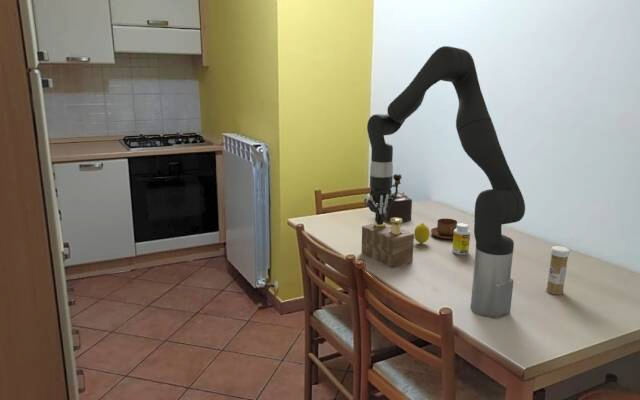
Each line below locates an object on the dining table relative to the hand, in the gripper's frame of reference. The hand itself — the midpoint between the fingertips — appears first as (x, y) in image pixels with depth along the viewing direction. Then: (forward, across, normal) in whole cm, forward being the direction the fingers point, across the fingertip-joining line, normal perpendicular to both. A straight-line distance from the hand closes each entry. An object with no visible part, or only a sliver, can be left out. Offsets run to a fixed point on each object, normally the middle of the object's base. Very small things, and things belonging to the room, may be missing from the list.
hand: (379, 223), depth 169 cm
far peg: (+10, 0, 0) cm, 10 cm away
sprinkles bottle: (+11, +22, -52) cm, 58 cm away
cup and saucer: (+12, +35, 0) cm, 37 cm away
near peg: (+6, 0, -8) cm, 10 cm away
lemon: (+12, +20, -1) cm, 23 cm away
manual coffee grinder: (+12, +36, +31) cm, 49 cm away
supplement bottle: (+12, +25, -15) cm, 31 cm away
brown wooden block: (+11, 0, -4) cm, 12 cm away
